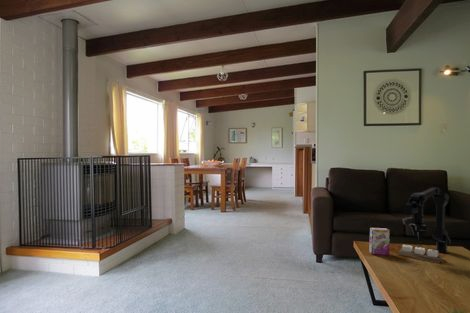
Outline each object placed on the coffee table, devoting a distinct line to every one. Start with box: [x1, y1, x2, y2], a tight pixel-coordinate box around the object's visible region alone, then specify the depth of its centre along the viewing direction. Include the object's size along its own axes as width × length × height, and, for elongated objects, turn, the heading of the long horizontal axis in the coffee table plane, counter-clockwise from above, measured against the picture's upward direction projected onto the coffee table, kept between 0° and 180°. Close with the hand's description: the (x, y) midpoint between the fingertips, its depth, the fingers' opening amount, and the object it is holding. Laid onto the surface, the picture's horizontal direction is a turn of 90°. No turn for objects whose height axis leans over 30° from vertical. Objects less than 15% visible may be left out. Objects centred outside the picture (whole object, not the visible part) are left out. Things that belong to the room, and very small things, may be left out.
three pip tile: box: [401, 244, 413, 252], centre depth 196 cm, size 5×5×3 cm
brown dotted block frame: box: [398, 247, 443, 264], centre depth 191 cm, size 10×22×2 cm, turn 49°
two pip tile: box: [413, 246, 426, 255], centre depth 191 cm, size 5×5×3 cm
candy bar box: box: [368, 227, 391, 256], centre depth 197 cm, size 11×5×16 cm, turn 84°
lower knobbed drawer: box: [426, 248, 439, 258], centre depth 187 cm, size 5×5×3 cm
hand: (417, 238), depth 190 cm, fingers open, 9 cm apart
